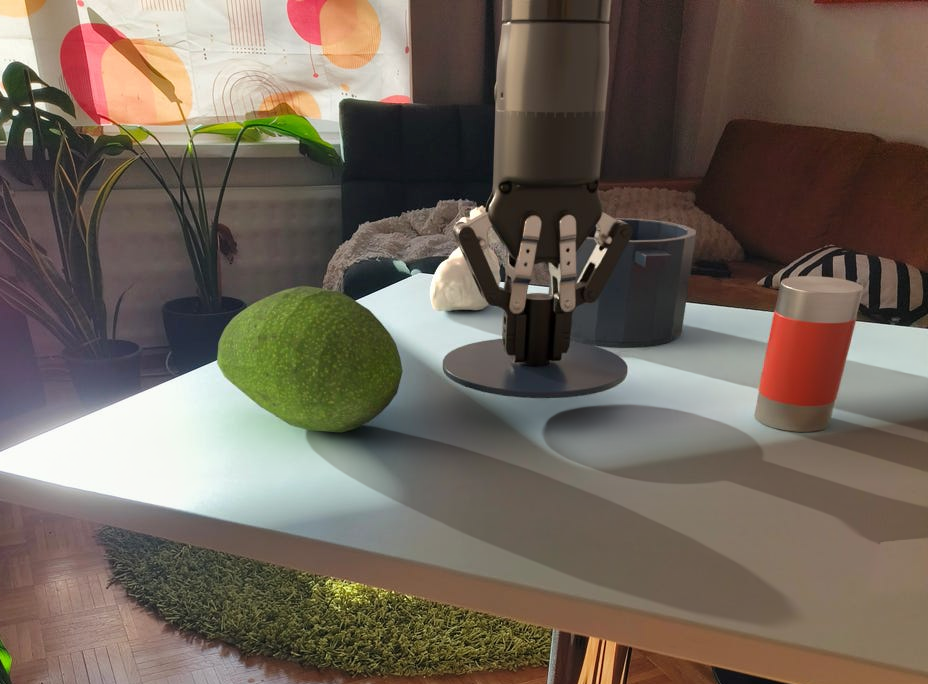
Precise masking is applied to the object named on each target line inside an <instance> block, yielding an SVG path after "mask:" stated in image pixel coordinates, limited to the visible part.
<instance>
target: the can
mask: <svg viewBox="0 0 928 684" xmlns="http://www.w3.org/2000/svg"><path fill="white" fill-rule="evenodd" d="M779 284H780V285H779V290H778V294H777V298H776V299H777V300H776V304H775V308H774V311H773V316H772V322H771V326H770V330H769V335H768V340H767V346H766V350H765V351H766V352H765V356H764V361H763V365H762V371H761V375H760V380H759V385H758V394H757V399H756V404H755V409H754V413H753V416H754V419H755V420H756V421H757V422H758V423H761V424H762V425H764V426H767V427H770V428H773V429H776V430H782V431H786V432H787V431H788V432H796V433H797V432H798V433H806V432H807V433H810V432H818V431H822V430H825V429H826V428H828V427H829V426H830V423H831V419H832V415H833V411H834V407H835V403H836V400H837V398H838V395H839V390H840V386H841V383H842V379H843V374H844V370H845V366H846V363H847V358H848V355H849V350H850V347H851V342H852V338H853V334H854V332H855V331H854V330H855V326H856V323H857V318H858V312H859V308H860V304H861V299H862V296H863V292H864V287H863V285H861V284H860V283H857V282H856V281H852V280H848V279H843V278H839V277H838V278H836V277H830V276H819V275H818V276H817V275H815V276H814V275H801V276H799V275H798V276H790V277H786V278H783V279H782V280H781V282H780V283H779Z"/></svg>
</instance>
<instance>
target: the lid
mask: <svg viewBox="0 0 928 684" xmlns="http://www.w3.org/2000/svg"><path fill="white" fill-rule="evenodd" d="M553 310H554V296H552V295H550V294H549V293H543V292H531V293H530V292H529V293H527V297H526V303H525V308H524V310H523V312H524V313H525V314H526V332H525V350H524V361H523V362H518V363H514V362H513V361H512V360H511V358H510V356H509V355H508V354H507V353H506V352H505V351H504V348H503V346H502V338H496V339H488V340H481V341H476V342H472V343H468V344H464V345H461V346H458V347H456V348H454V349H452V350H450V351H449V352H448V353H446V355H445V356H444V357H443V359H442V371H443V373H444V375H445V377H447V378H448V379H450V380H451V381H453V382H454V383H457V384H458V385H461V386H463V387H466V388H469V389H471V390H475V391H478V392H483V393H486V394H493V395H496V396H497V395H498V396H504V397H513V398H525V399H563V398H565V399H566V398H574V397H583V396H588V395H594V394H598V393H602V392H606V391H608V390H611V389H613V388H615V387H617V386H620V384H622V383H623V382H624V381H625V379H626V378H627V376H628V367H629V366H628V364H627V362H626V361H625V360H624V359H623V358H622V357H621V356H620V355H618V354H616V353H614V352H612V351H611V350H607V349H605V348H602V347H600V346H597V345H589V344H584V343H579V342H573V341H570V346H569V349H568V351H567V353H562V358H561V360H560V361H551V360H550V353H551V338H552V324H553Z"/></svg>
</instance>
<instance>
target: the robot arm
mask: <svg viewBox="0 0 928 684" xmlns="http://www.w3.org/2000/svg"><path fill="white" fill-rule="evenodd" d="M611 7H612V0H502V10H501V22H503V23H502V24H501V32H500V40H499V48H498V52H497V53H498V54H497V62H496V63H497V64H496V77H495V78H496V79H495V80H496V81H495V85H494V90H493V91H494V93H493V95H494V96H493V97H494V98H493V100H494V102H495V109H494V110H495V112H494V113H495V114H494V143H493V144H494V145H493V176H492V177H493V178H492V190H491V194H490V196H489V198H488V200H487V202H486V204H485V207H484V208H485V212H484V213H482V214H481V215H479V216H477V217H475V218H474V219H472V220H470V221H468V222H467V223H465V222H459V221H457V222H458V223H456V222H455V223H454V226H453V228H452V235H453V236H454V238H455V241H456V244H457V245H458V247H459V248H460V250H461V252H462V254H463V257H464V259H465V261H466V263H467V265H468V268H469V270H470V272H471V274H472V277H473V279H474V281H475V283H476V285H477V288H478V290H479V292H480V294H481V296H482V297H483V298H484V299H485V300H486V301H487V303H488V304H489V305H488V306H492V307H497V308H500V309H502V332H501V336H502V337H501V339H502V346H503V348H504V351H505V352H506V353H507V354H508V355H509V356H510V358H511V360H512V361H513V362H514V363H518V362H523V361H524V350H525V332H526V314H525V313H524V312H523V310H524V308H525V303H526V297H527V294H528V291H529V285H530V282H531V281H532V278H533V271H534V267H535V265H538V264H542V263H544V262H545V263H548V271H549V276H550V275H551V289H552V296H554V310H553V324H552V338H551V353H550V360H551V361H560V360H561V358H562V353H567V351H568V349H569V346H570V335H571V334H570V333H571V322H572V313H573V311H574V309H575V308H576V307H577V306H579V305H581V304H583V303H586V302H588V303H593V302H595V301H596V300H597V299H598V297H599V295H600V293H601V291H602V290H603V288H604V286H605V284H606V282H607V281H608V279H609V277H610V275H611V273H612V271H613V270H614V268H615V266H616V264H617V262H618V260H619V259H620V257H621V255H622V253H623V251H624V249H625V248H626V246H627V244H628V242H629V240H630V239H631V237H632V234H633V229H632V227H631V226H630V225H629V224H627V223H626V222H624V221H622V220H618V219H614V218H615V217H613V216H612V215H609V214H608V213H606V212H604V205H603V202H602V200H601V196H600V193H599V183H600V175H601V165H602V155H603V154H602V153H603V142H604V133H605V132H604V130H605V120H606V119H605V118H606V110H607V109H606V108H607V99H608V98H607V97H608V87H609V76H610V38H609V37H610V24H609V23H610V19H611ZM595 226H596V233H595V236H594V239H595V242H596V243H597V245H596V247H595V249H594V251H593V253H592V254H591V256H590V258H589V260H588V262H587V264H586V266H585V268H584V269H583V271H582V273H581V275H580V277H579V279H578V281H577V283H576V284H575V279H576V277H577V267H576V252H577V251H578V249H579V248H580V247H581V245H582V244H583V242H584V241H585V240H586V238H587V237H588V236H589V234H590V233H591V231H592V230H593V229H594V227H595ZM491 227H492V228H493V229H494V231H495V233H496V234H497V236H498V237H499V239H500V241H499V242H500V243H501V244H502V245H503V247H504V249H505V250H506V252H507V254H506V259H505V268H504V272H505V278H504V284H503V287H502V286H500V285H499V286H498V285H497V282H496V280H495V278H494V275H493V273H492V271H491V269H490V266H489V264H488V262H487V259H486V257H485V255H484V253H483V250H485V249H486V248H487V246H488V245H490V244H489V239H488V231H489V229H490V228H491ZM567 262H568V263H567Z"/></svg>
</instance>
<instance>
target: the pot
mask: <svg viewBox="0 0 928 684" xmlns="http://www.w3.org/2000/svg"><path fill="white" fill-rule="evenodd" d="M613 218H614V219H618V220H622V221H624V222H626V223H627V224H629V225H630V226H631V227H632V229H633V234H632V237H631V239H630V240H629V242H628V244H627V246H626V248H625V249H624V251H623V253H622V255H621V257H620V259H619V260H618V262H617V264H616V266H615V268H614V270H613V271H612V273H611V275H610V277H609V279H608V281H607V282H606V284H605V286H604V288H603V290H602V291H601V293H600V295H599V297H598V299H597V300H596V301H595V302H593V303H588V302H586V303H583V304H581V305H579V306H577V307H576V308H575V309H574V311H573V313H572V322H571V333H570V334H571V335H570V341H573V342H579V343H584V344H588V345H592V346H596V347H606V348H608V347H609V348H611V347H612V348H644V347H651V346H658V345H664V344H667V343H671V342H673V341H675V340H677V339H678V338H680V337H681V334H682V332H683V327H684V321H685V320H684V319H685V313H686V306H687V299H688V293H689V286H690V285H689V284H690V278H691V271H692V267H693V266H692V264H693V257H694V251H695V245H696V237H697V230H696V229H695V228H692V227H689V226H688V225H684V224H679V223H675V222H671V221H665V220H663V221H662V220H655V219H644V218H626V217H613ZM595 233H596V226H595V227H594V229H593V230H592V231H591V233H590V234H589V236H588V237H587V238H586V240H585V241H584V242H583V244H582V245H581V247H580V248H579V249H578V251H577V252H576V267H577V277H576V279H575V284H576V283H577V281H578V279H579V277H580V275H581V273H582V271H583V269H584V268H585V266H586V264H587V262H588V260H589V258H590V256H591V254H592V253H593V251H594V249H595V247H596V245H597V243H596V242H595V239H594V236H595ZM567 263H568V262H567ZM548 280H549V281H548V294H550V295H552V289H551V275H550V274H549V279H548Z"/></svg>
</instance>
